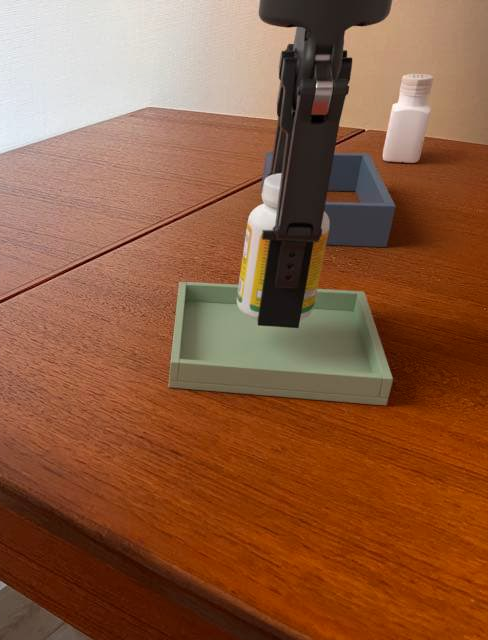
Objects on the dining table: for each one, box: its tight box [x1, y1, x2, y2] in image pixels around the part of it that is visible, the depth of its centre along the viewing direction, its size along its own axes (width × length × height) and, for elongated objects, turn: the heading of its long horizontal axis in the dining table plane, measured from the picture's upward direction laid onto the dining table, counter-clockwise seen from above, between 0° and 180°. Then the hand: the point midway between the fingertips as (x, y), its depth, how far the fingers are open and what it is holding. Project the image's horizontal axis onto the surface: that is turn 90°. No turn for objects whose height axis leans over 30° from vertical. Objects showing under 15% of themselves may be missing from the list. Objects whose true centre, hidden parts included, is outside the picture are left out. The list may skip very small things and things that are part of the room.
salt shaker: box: [382, 73, 434, 164], centre depth 101 cm, size 4×4×10 cm
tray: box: [167, 281, 394, 407], centre depth 64 cm, size 14×14×2 cm
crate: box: [260, 151, 397, 248], centre depth 88 cm, size 11×18×4 cm, turn 165°
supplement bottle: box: [237, 173, 330, 320], centre depth 61 cm, size 5×5×10 cm
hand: (275, 305), depth 63 cm, fingers closed on supplement bottle, 5 cm apart
